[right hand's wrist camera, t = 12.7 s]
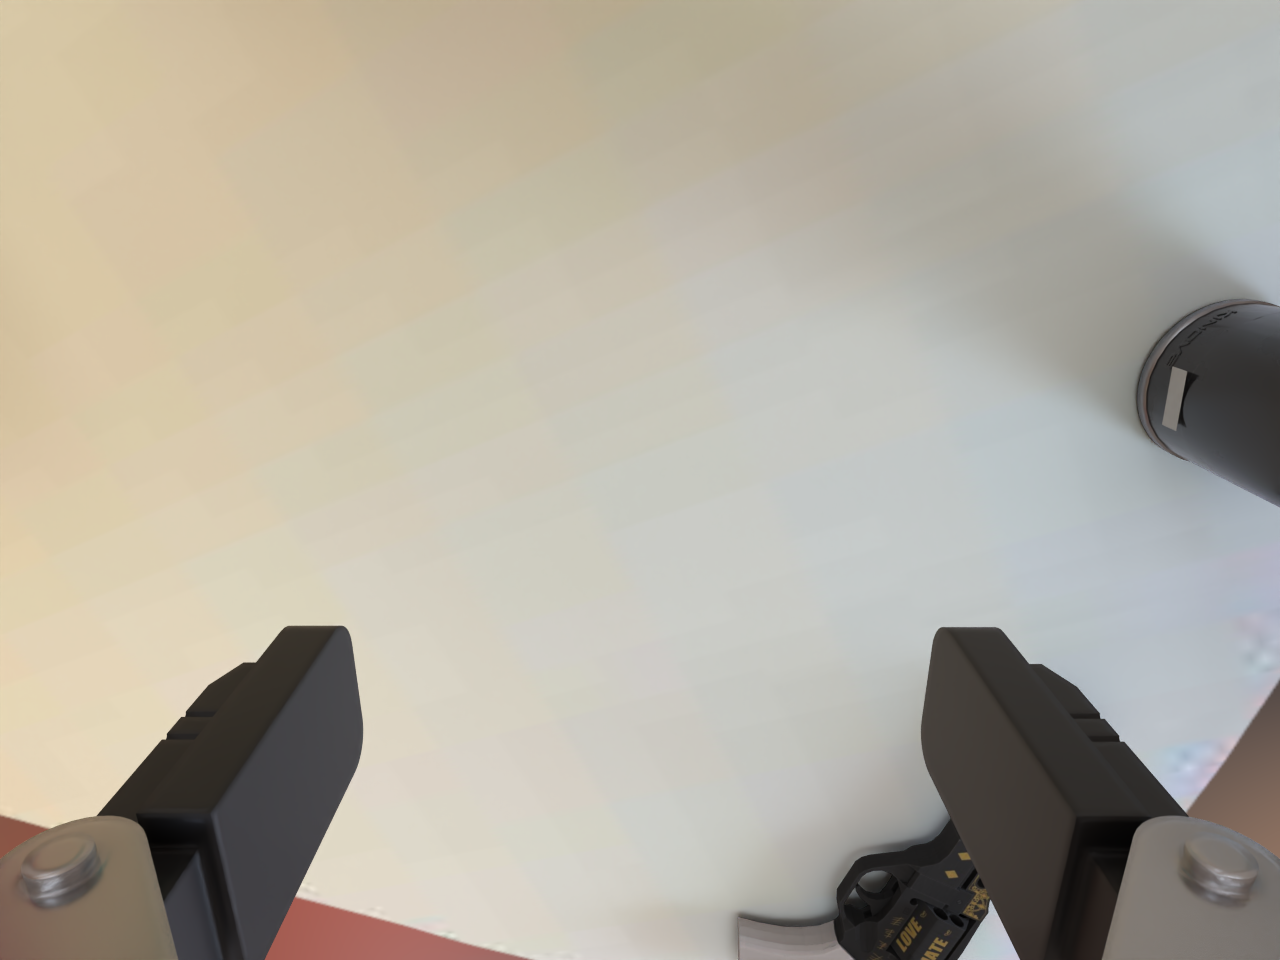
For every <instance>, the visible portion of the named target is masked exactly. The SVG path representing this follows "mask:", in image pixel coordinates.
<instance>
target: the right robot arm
mask: <svg viewBox="0 0 1280 960" xmlns="http://www.w3.org/2000/svg"><path fill="white" fill-rule="evenodd" d="M1137 403H1138V411H1139V416H1140V419H1141V422H1142V424H1143V427H1144V429H1145V430H1146V432H1147V434H1148V435H1149V436H1150V438H1151V439H1152V440H1153V441H1154V442H1155V443H1156V444H1157V445H1158V446H1159V447H1161V448H1162V449H1163V450H1165V451H1167V452H1169V453H1170V454H1172V455H1174V456H1176V457H1179V458H1181V459H1183V460H1186V461H1190V462H1192V463H1194V464H1196V465H1198V466H1200V467H1202V468H1204V469H1206V470H1208V471H1210V472H1211V473H1213V474H1215V475H1217V476H1219V477H1221V478H1223V479H1225V480H1227V481H1229V482H1231V483H1233V484H1235V485H1237V486H1239V487H1241V488H1243V489H1245V490H1247V491H1249V492H1251V493H1253V494H1255V495H1257V496H1259V497H1261V498H1263V499H1265V500H1266V501H1268V502H1270V503H1272V504H1274V505H1276V506H1278V507H1280V307H1279V306H1276V305H1273V304H1270V303H1266V302H1261V301H1256V300H1248V299H1237V300H1228V301H1222V302H1218V303H1215V304H1212V305H1209V306H1206V307H1204V308H1202V309H1199V310H1197V311H1195V312H1194V313H1192V314H1190V315H1188V316H1187V317H1185V318H1184V319H1183V320H1181V321H1180V322H1179V323H1177V324H1176V325H1175V326H1174V327H1172V328H1171V329H1170V330H1169V331H1168V332H1167V333H1166V334H1165V335H1164V337H1163V338H1162V339H1161V340H1160V341H1159V342H1158V344H1157V345H1156V346H1155V348H1154V349H1153V351H1152V352H1151V354H1150V356H1149V358H1148V360H1147V361H1146V364H1145V366H1144V368H1143V371H1142V374H1141V377H1140V381H1139V386H1138V395H1137ZM921 741H922V750H923V755H924V760H925V764H926V767H927V769H928V772H929V774H930V776H931V778H932V780H933V782H934V784H935V786H936V788H937V790H938V792H939V795H940V797H941V799H942V801H943V803H944V805H945V807H946V809H947V811H948V813H949V815H950V817H951V819H952V821H953V823H954V825H955V827H956V829H957V831H958V833H959V835H960V838H961V840H962V842H963V844H964V846H965V848H966V850H967V852H968V854H969V856H970V858H971V860H972V862H973V864H974V866H975V868H976V870H977V872H978V874H979V876H980V878H981V880H982V883H983V885H984V887H985V889H986V891H987V893H988V895H989V897H990V899H991V901H992V903H993V905H994V907H995V909H996V911H997V913H998V915H999V917H1000V919H1001V921H1002V923H1003V926H1004V928H1005V930H1006V932H1007V934H1008V936H1009V938H1010V940H1011V942H1012V944H1013V946H1014V948H1015V950H1016V952H1017V954H1018V956H1019V958H1020V960H1280V859H1279V858H1278V857H1277V856H1275V855H1274V854H1273V853H1271V852H1270V851H1269V850H1267V849H1266V848H1265V847H1263V846H1261V845H1260V844H1258V843H1256V842H1255V841H1253V840H1252V839H1250V838H1248V837H1246V836H1244V835H1242V834H1240V833H1238V832H1236V831H1234V830H1231V829H1229V828H1226V827H1224V826H1221V825H1218V824H1215V823H1212V822H1209V821H1205V820H1201V819H1197V818H1192V817H1189V816H1188V815H1187V814H1186V813H1185V811H1184V810H1183V809H1182V808H1181V807H1180V806H1179V805H1178V803H1177V802H1176V801H1175V800H1174V799H1173V798H1172V796H1171V795H1170V794H1169V793H1168V792H1167V791H1166V790H1165V788H1164V787H1163V786H1162V785H1161V784H1160V783H1159V781H1158V780H1157V779H1156V778H1155V777H1154V776H1153V774H1152V773H1151V772H1150V771H1149V770H1148V769H1147V768H1146V766H1145V765H1144V764H1143V763H1142V762H1141V761H1140V759H1139V758H1138V757H1137V756H1136V755H1135V754H1134V753H1133V751H1132V750H1131V749H1130V748H1129V747H1128V746H1127V744H1126V743H1125V742H1120V740H1119V735H1118V734H1117V733H1116V732H1115V731H1114V729H1113V728H1112V727H1111V726H1110V725H1109V724H1108V722H1107V721H1106V720H1105V719H1100V713H1099V712H1098V711H1097V710H1096V709H1095V707H1094V706H1093V705H1092V704H1091V703H1090V702H1089V700H1088V699H1087V698H1086V697H1085V696H1084V695H1083V694H1082V692H1081V691H1080V690H1079V689H1078V688H1077V687H1076V686H1075V685H1073V684H1071V683H1070V682H1068V681H1067V680H1065V679H1064V678H1062V677H1061V676H1059V675H1058V674H1056V673H1054V672H1053V671H1051V670H1050V669H1048V668H1047V667H1045V666H1044V665H1042V664H1029V663H1028V662H1027V661H1026V660H1025V658H1024V657H1023V656H1022V655H1021V653H1020V652H1019V651H1018V650H1017V648H1016V647H1015V646H1014V645H1013V643H1012V642H1011V641H1010V640H1009V638H1008V637H1007V636H1006V635H1005V634H1004V632H1003V631H1002V630H1001V629H999V628H996V627H942V628H940V629H938V631H937V632H936V634H935V637H934V640H933V645H932V652H931V659H930V666H929V673H928V680H927V687H926V694H925V701H924V709H923V716H922V724H921ZM362 742H363V720H362V712H361V705H360V698H359V691H358V683H357V676H356V669H355V662H354V655H353V647H352V641H351V637H350V634H349V632H348V630H347V628H345V627H344V626H287V627H285V628H284V629H283V630H282V631H281V632H280V633H279V634H278V636H277V637H276V638H275V639H274V641H273V642H272V643H271V644H270V646H269V647H268V648H267V650H266V651H265V652H264V653H263V655H262V656H261V657H260V658H259V660H258V661H257V662H256V663H242V664H241V665H239V666H238V667H236V668H234V669H233V670H231V671H230V672H228V673H227V674H225V675H224V676H222V677H221V678H219V679H217V680H216V681H214V682H213V683H211V684H210V685H208V686H207V688H206V689H205V690H204V691H203V692H202V693H201V695H200V696H199V697H198V698H197V699H196V700H195V702H194V703H193V704H192V705H191V706H190V707H189V709H188V710H187V711H186V716H185V717H181V718H180V719H179V720H178V721H177V723H176V724H175V725H174V726H173V727H172V728H171V730H170V731H169V732H168V733H167V738H166V740H161V741H160V743H159V744H158V745H157V746H156V747H155V748H154V750H153V751H152V752H151V753H150V754H149V755H148V757H147V758H146V759H145V760H144V761H143V762H142V764H141V765H140V766H139V767H138V768H137V769H136V771H135V772H134V773H133V774H132V775H131V776H130V778H129V779H128V780H127V781H126V782H125V783H124V785H123V786H122V787H121V788H120V789H119V790H118V792H117V793H116V794H115V795H114V796H113V797H112V799H111V800H110V801H109V802H108V803H107V804H106V806H105V807H104V808H103V809H102V810H101V811H100V813H99V814H98V815H97V816H95V817H88V818H83V819H79V820H74V821H71V822H68V823H65V824H62V825H59V826H56V827H54V828H51V829H49V830H46V831H44V832H42V833H40V834H38V835H36V836H34V837H32V838H30V839H28V840H27V841H25V842H23V843H22V844H20V845H19V846H17V847H15V848H14V849H13V850H11V851H10V852H9V853H7V854H6V855H5V856H3V857H2V858H1V859H0V960H264V959H265V957H266V955H267V953H268V951H269V949H270V947H271V945H272V943H273V941H274V939H275V937H276V935H277V933H278V930H279V928H280V926H281V924H282V922H283V920H284V918H285V916H286V914H287V912H288V910H289V908H290V906H291V904H292V902H293V899H294V897H295V895H296V893H297V891H298V889H299V887H300V885H301V883H302V881H303V879H304V877H305V875H306V872H307V870H308V868H309V866H310V864H311V862H312V860H313V858H314V856H315V854H316V852H317V850H318V848H319V846H320V843H321V841H322V839H323V837H324V835H325V833H326V831H327V829H328V827H329V825H330V823H331V821H332V819H333V817H334V814H335V812H336V810H337V808H338V806H339V804H340V802H341V800H342V798H343V796H344V794H345V792H346V790H347V788H348V785H349V783H350V781H351V779H352V777H353V775H354V773H355V771H356V768H357V766H358V763H359V759H360V755H361V750H362Z"/></svg>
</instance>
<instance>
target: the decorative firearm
mask: <svg viewBox="0 0 1280 960" xmlns="http://www.w3.org/2000/svg"><path fill="white" fill-rule="evenodd" d="M881 870H882V871H885V872H888V873H891V874H892V875H893V876H892V877H891V879H890V880H889V882H888V883H887V885H886V886H885V887H884V888H883V890H882V891H881V892H880V893H871V892H867V891H865V890H864V889H863V888H862V887H861V886H860V885H859V884H858V882H859V880H860V879H861V877H862V876H863V875H865V874H866V873H868V872H871V871H881ZM854 888H856V892H857V893H858V895H859V896H860V897H861V898H862V899H863V900H864V901H865V902H866V903H867V904H868V906H866V907H865V908H863V909H859V908H855V907H853V906H852V905H850V904H844V902H845V901H846V899H847V898H848V896H849V895H850V894H851V892H852V891H853V889H854ZM990 900H991V899H990V897H989V895H988V893H987V891H986V889H985V887H984V885H983V883H982V880H981V878H980V876H979V874H978V872H977V870H976V868H975V866H974V864H973V862H972V860H971V858H970V856H969V854H968V852H967V850H966V848H965V846H964V844H963V842H962V840H961V838H960V835H959V833H958V831H957V829H956V827H955V825H954V823H953V821H952V819H950V820H949V822H948V823H947V825H946V826H945V828H944V829H943V831H942V832H941V833H940V835H938V836H937V837H936V838H935V839H934V840H932V841H931V842H929V843H925V844H920V845H915V846H912V847H910V848H908V849H906V850H905V851H900V852H890V853H880V854H871V855H867V856H863V857H861V858H859V859H858V860H856V861H855V863H854V864H853V866H852V867H851V869H850V870H849V872H848V873H847V875H846V876H845V878H844V879H843V881H842V882H841V884H840V885H839V887H838V888H837V903H838V907H839V916H838V917H837V918H836V919H835V920H832V921H830V922H827V923H824V924H821V925H817V926H807V927H783V926H777V925H771V924H765V923H760V922H756V921H752V920H748V919H744V918H740V917H738V957H739V960H957V959H958V958H959V957H960V955H961V954H962V953H963V951H964V949H965V948H966V946H967V945H968V943H969V941H970V940H971V938H972V936H973V935H974V933H975V932H976V930H977V928H978V927H979V925H980V923H981V922H982V921H983V919H984V918H985V917H986V915H987V914H988V907H989V902H990Z"/></svg>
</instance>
